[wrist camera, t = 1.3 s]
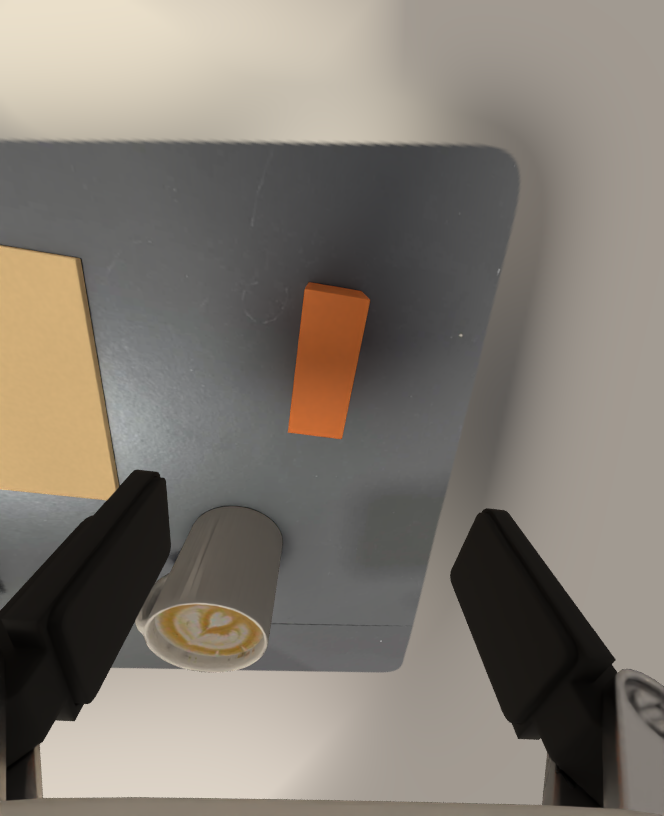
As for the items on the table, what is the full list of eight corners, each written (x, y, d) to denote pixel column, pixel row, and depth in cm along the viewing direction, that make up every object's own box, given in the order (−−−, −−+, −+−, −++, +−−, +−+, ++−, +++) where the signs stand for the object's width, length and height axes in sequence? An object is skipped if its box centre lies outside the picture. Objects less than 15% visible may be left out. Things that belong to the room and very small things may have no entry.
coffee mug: (271, 500, 32) (251, 596, 23) (290, 565, 37) (279, 667, 28) (145, 515, 33) (77, 614, 24) (178, 578, 37) (132, 681, 28)
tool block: (308, 281, 23) (304, 288, 19) (361, 291, 24) (370, 299, 19) (293, 403, 27) (287, 432, 23) (339, 409, 28) (341, 439, 23)
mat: (-176, 215, 21) (-190, 214, 20) (80, 258, 22) (74, 258, 22) (-53, 479, 30) (-60, 483, 30) (121, 497, 32) (117, 501, 31)
